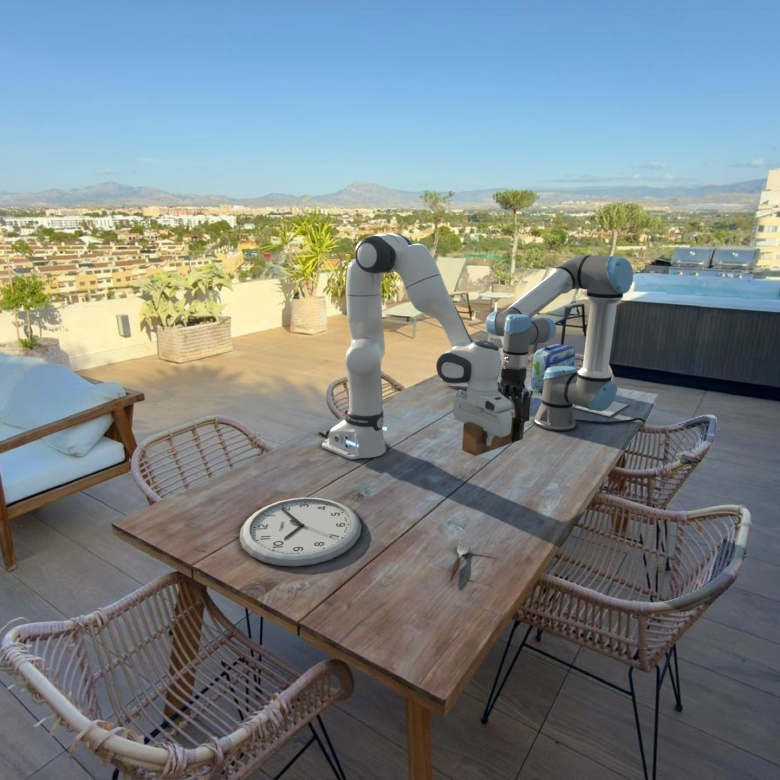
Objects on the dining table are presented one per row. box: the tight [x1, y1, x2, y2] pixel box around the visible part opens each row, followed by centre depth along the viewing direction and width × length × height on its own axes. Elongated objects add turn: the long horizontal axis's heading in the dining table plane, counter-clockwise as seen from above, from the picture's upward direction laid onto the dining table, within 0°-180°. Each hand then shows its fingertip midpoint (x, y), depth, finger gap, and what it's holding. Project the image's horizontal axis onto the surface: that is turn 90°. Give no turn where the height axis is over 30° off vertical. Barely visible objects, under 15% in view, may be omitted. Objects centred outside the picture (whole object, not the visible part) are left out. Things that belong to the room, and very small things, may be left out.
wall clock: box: [239, 497, 362, 567], centre depth 131 cm, size 30×2×30 cm
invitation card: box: [573, 400, 629, 418], centre depth 226 cm, size 21×1×15 cm
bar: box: [461, 408, 526, 457], centre depth 159 cm, size 22×6×8 cm, turn 128°
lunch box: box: [530, 343, 576, 392], centre depth 248 cm, size 26×11×21 cm, turn 134°
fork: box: [449, 535, 471, 582], centre depth 119 cm, size 3×16×2 cm, turn 160°
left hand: (478, 441), depth 155 cm, fingers closed on bar, 5 cm apart
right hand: (507, 437), depth 164 cm, fingers closed on bar, 5 cm apart
